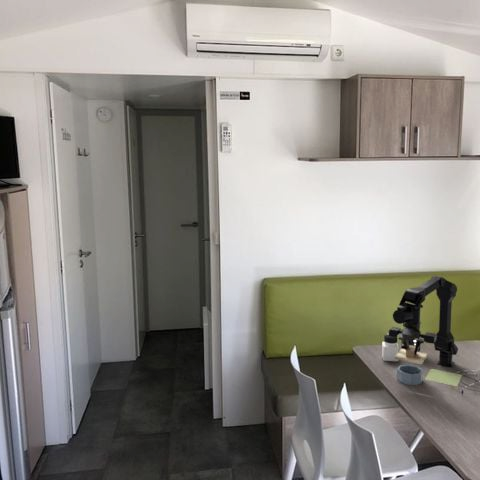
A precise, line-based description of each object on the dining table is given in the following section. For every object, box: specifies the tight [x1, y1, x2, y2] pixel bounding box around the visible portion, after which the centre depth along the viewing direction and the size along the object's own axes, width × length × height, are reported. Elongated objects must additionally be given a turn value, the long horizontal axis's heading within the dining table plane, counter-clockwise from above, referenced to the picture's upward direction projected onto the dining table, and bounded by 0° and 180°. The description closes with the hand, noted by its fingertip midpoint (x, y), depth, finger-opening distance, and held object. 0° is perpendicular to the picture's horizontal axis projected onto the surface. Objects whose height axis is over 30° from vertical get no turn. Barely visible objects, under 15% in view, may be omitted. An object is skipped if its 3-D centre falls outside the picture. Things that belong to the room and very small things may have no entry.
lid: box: [395, 345, 428, 365], centre depth 204 cm, size 11×11×4 cm
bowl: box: [396, 364, 424, 386], centre depth 205 cm, size 10×10×5 cm
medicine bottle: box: [381, 333, 400, 362], centre depth 229 cm, size 7×7×12 cm
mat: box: [424, 368, 463, 387], centre depth 208 cm, size 13×13×1 cm
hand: (411, 353), depth 204 cm, fingers closed on lid, 3 cm apart
